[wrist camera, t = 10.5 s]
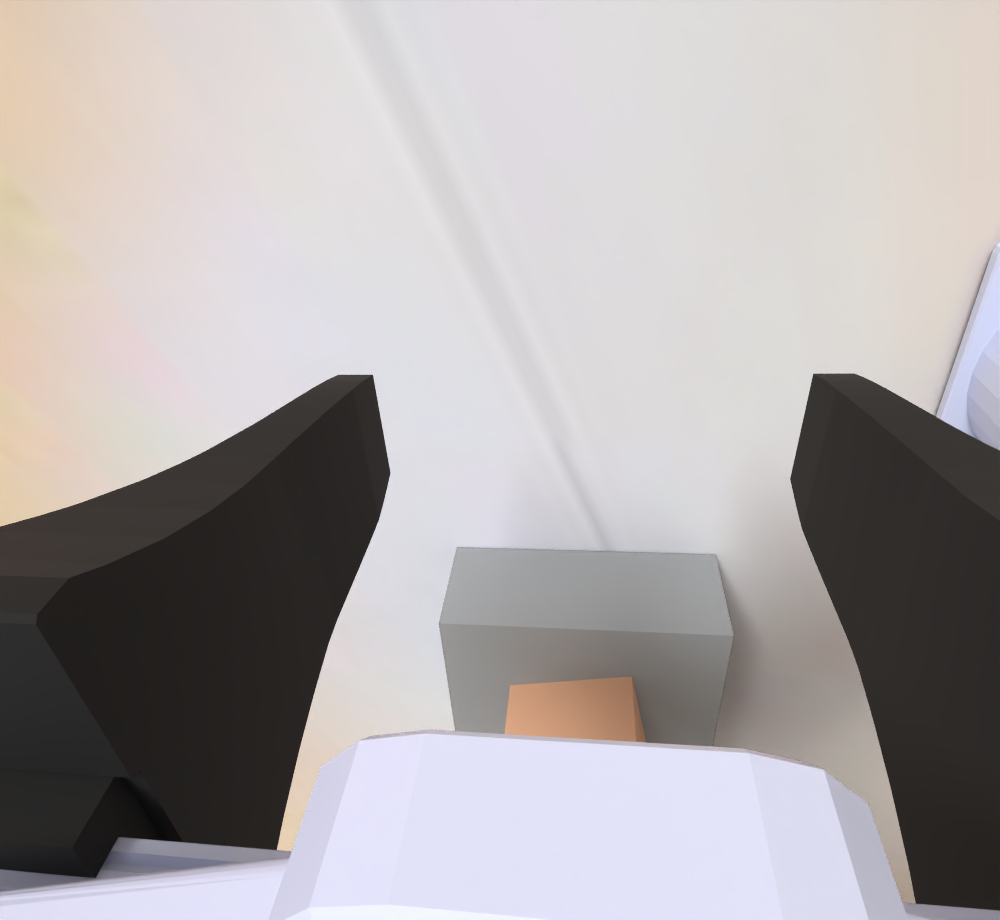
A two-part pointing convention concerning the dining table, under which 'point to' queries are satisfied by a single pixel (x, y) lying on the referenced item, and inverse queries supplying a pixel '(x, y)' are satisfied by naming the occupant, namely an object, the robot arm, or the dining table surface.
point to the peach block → (576, 710)
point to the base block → (588, 633)
